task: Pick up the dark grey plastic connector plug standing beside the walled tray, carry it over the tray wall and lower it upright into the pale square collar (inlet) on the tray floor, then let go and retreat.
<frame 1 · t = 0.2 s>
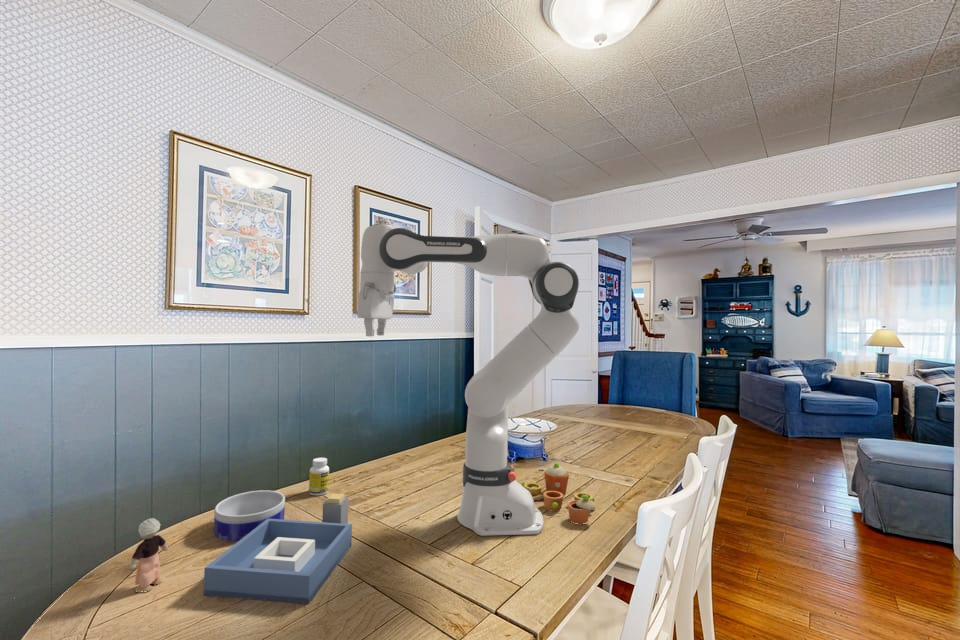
hand: (375, 335, 115), 47 cm above the table, fingers open, 8 cm apart
supplement bottle: (318, 493, 126), on the table
toy tea set: (563, 506, 122), on the table
walled tray: (285, 568, 87), on the table
connector plug: (334, 533, 102), on the table
grandmother figurine: (146, 588, 80), on the table
dog bowl: (250, 527, 104), on the table
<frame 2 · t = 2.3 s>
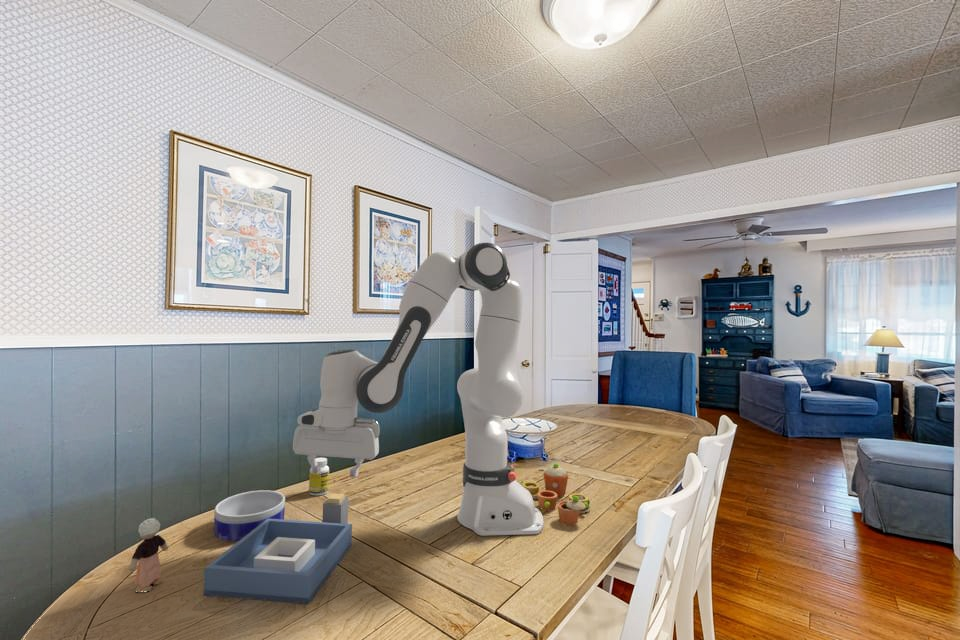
hand: (334, 474, 102), 14 cm above the table, fingers open, 8 cm apart
toy tea set: (558, 507, 122), on the table
everything else where it was.
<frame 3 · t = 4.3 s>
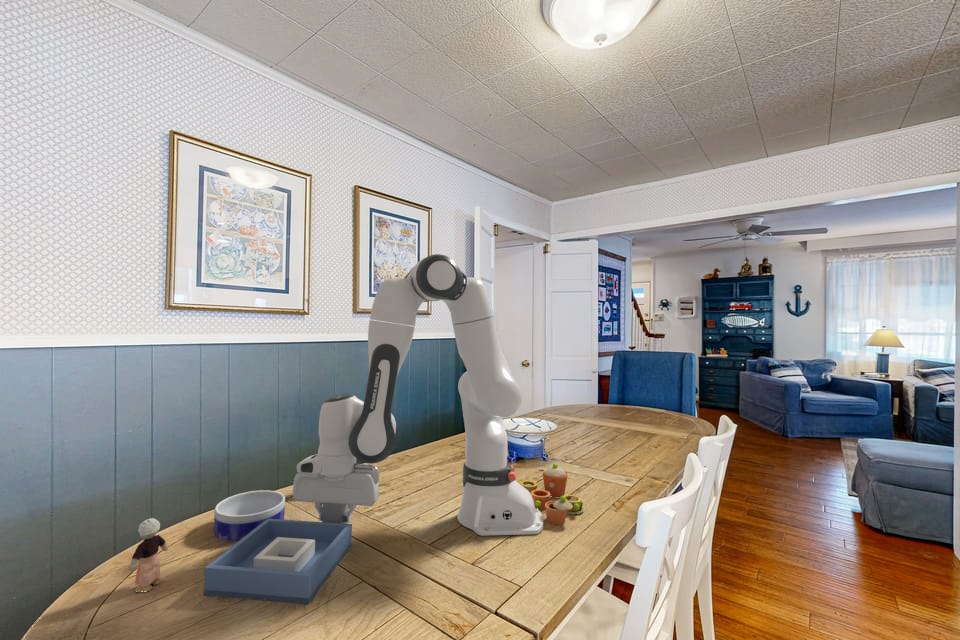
hand: (335, 520, 102), 3 cm above the table, fingers closed on connector plug, 4 cm apart
toy tea set: (552, 507, 121), on the table
connector plug: (334, 533, 102), on the table, touching gripper
everything else where it was.
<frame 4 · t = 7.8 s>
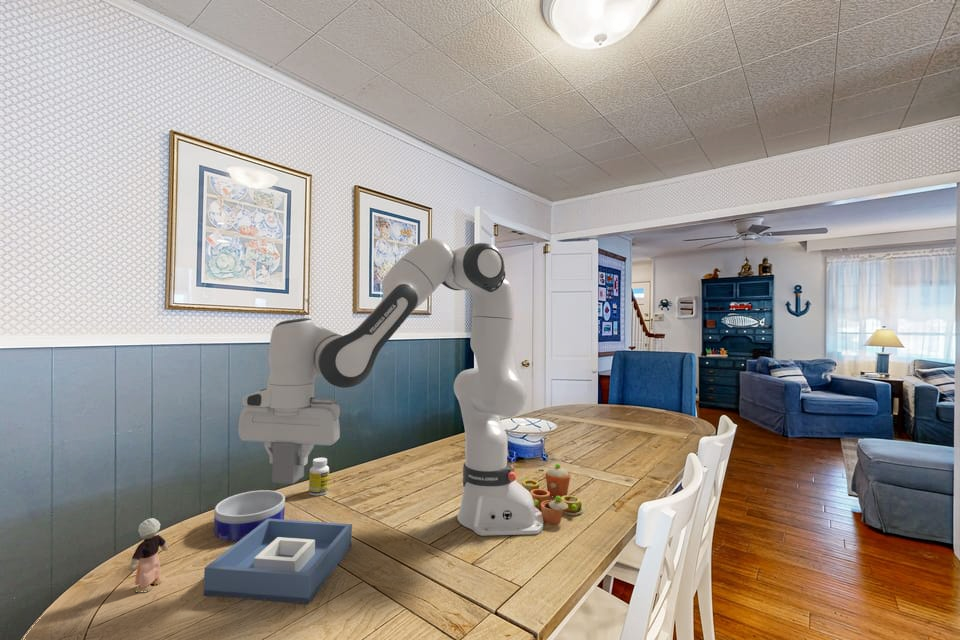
hand: (288, 463, 87), 21 cm above the table, fingers closed on connector plug, 4 cm apart
connector plug: (288, 479, 87), point 18 cm above the table, touching gripper
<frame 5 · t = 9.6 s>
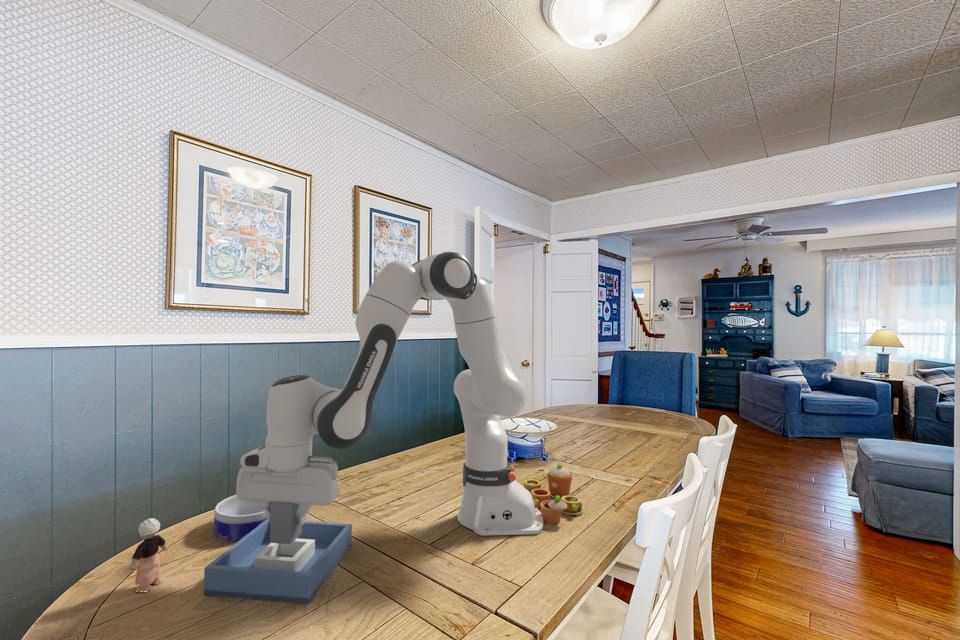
hand: (286, 522, 87), 9 cm above the table, fingers closed on connector plug, 4 cm apart
connector plug: (286, 538, 87), point 6 cm above the table, touching gripper
when the fingers open (6 cm above the table, at t = 11.2 s): connector plug drops 1 cm, resting on walled tray.
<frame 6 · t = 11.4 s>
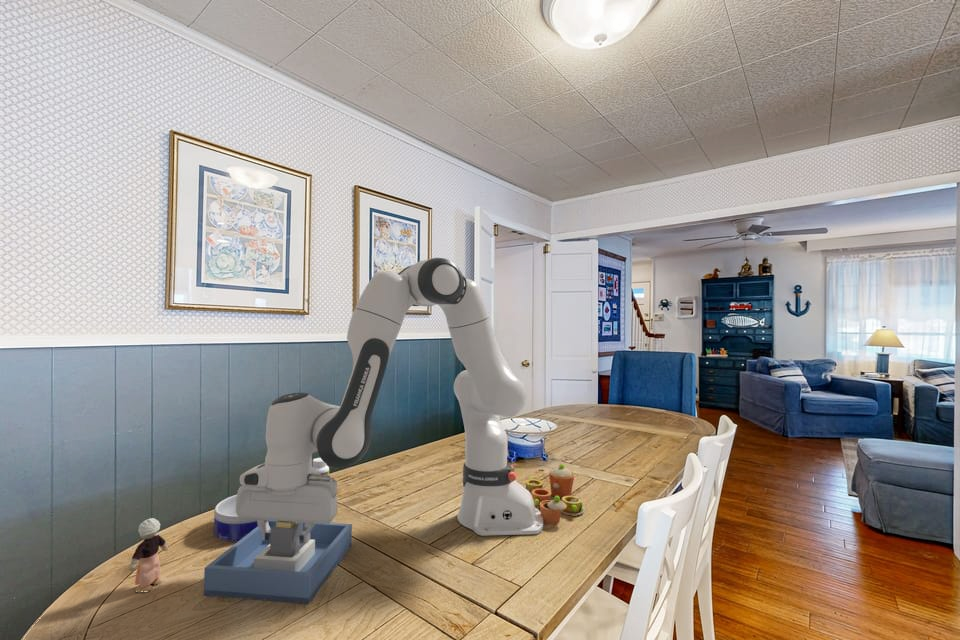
hand: (286, 540, 87), 6 cm above the table, fingers open, 6 cm apart
connector plug: (285, 563, 87), point 1 cm above the table, touching walled tray
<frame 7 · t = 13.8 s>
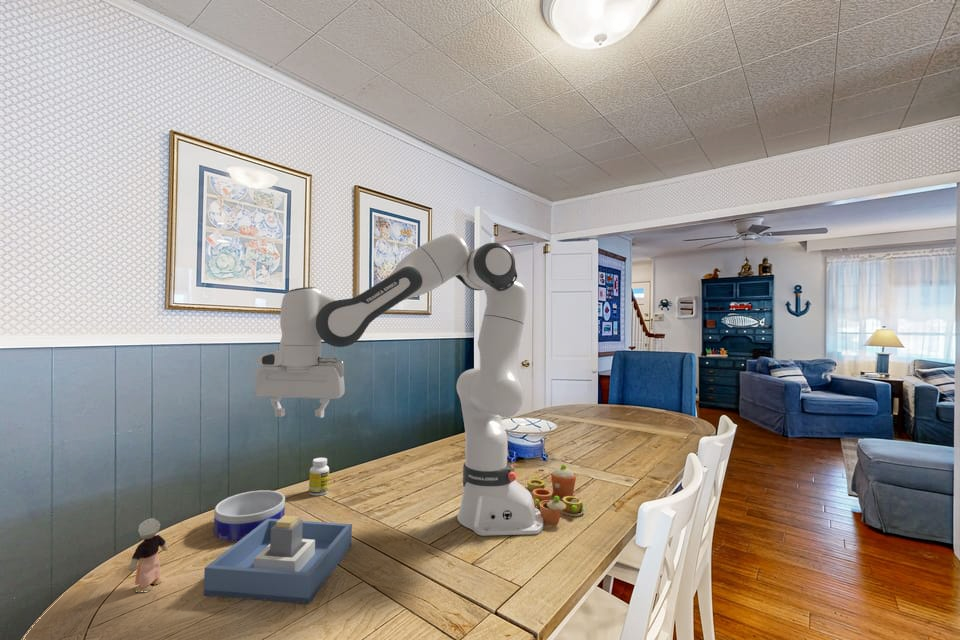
hand: (299, 416, 98), 29 cm above the table, fingers open, 8 cm apart
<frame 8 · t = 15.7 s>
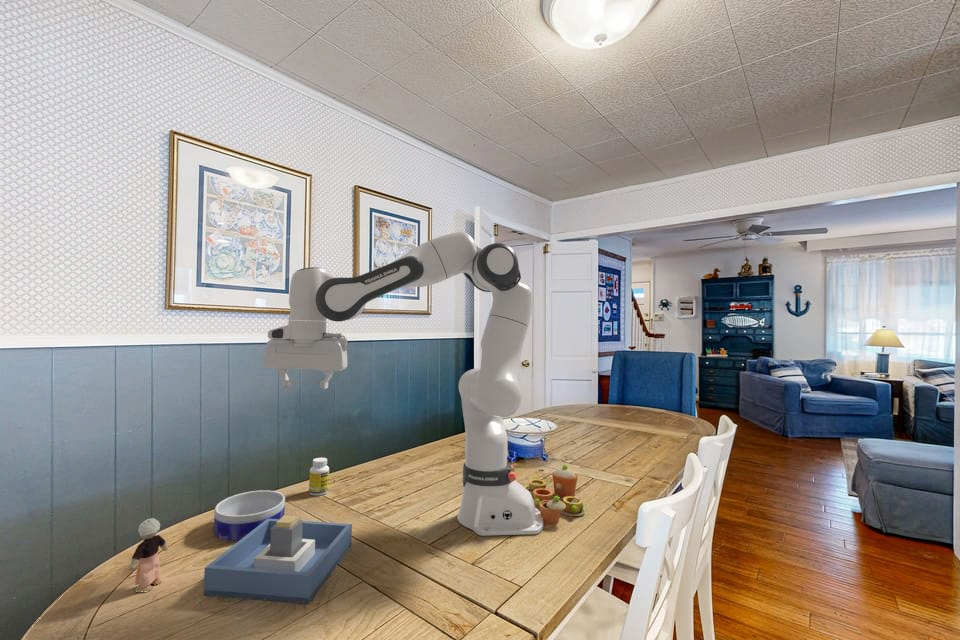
hand: (305, 387, 106), 34 cm above the table, fingers open, 8 cm apart
at the end: connector plug 0.1 cm off-centre on the walled tray, point 1.0 cm above the walled tray's base; connector plug tilted 0°; the gripper is holding nothing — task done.
